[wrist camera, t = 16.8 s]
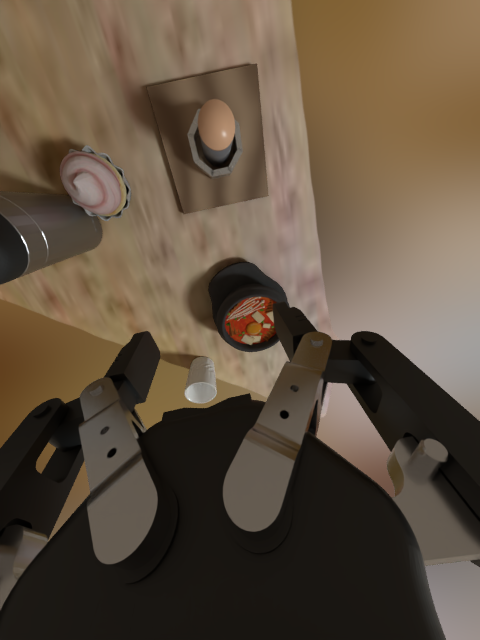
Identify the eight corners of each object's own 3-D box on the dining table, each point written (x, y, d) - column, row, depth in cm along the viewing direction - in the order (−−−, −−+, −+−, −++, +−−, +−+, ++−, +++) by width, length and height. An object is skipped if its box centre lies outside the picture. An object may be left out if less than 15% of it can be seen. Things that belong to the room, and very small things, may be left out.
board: (184, 213, 36) (184, 214, 36) (148, 90, 28) (146, 86, 27) (267, 196, 37) (268, 195, 36) (255, 67, 28) (257, 63, 27)
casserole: (189, 285, 44) (184, 301, 37) (262, 243, 41) (272, 251, 34) (240, 354, 57) (243, 376, 49) (298, 326, 54) (311, 345, 47)
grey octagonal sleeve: (199, 182, 33) (198, 179, 30) (185, 121, 29) (181, 112, 26) (242, 172, 33) (245, 169, 30) (233, 111, 29) (236, 100, 26)
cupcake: (88, 137, 30) (38, 111, 21) (148, 180, 33) (126, 172, 25) (73, 196, 33) (25, 194, 25) (129, 229, 37) (104, 237, 28)
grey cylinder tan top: (208, 169, 33) (205, 154, 24) (198, 135, 30) (191, 106, 22) (233, 161, 32) (239, 144, 24) (225, 126, 30) (229, 93, 22)
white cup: (221, 362, 57) (222, 390, 49) (205, 377, 60) (203, 406, 51) (199, 350, 54) (197, 378, 45) (183, 367, 56) (178, 396, 48)
